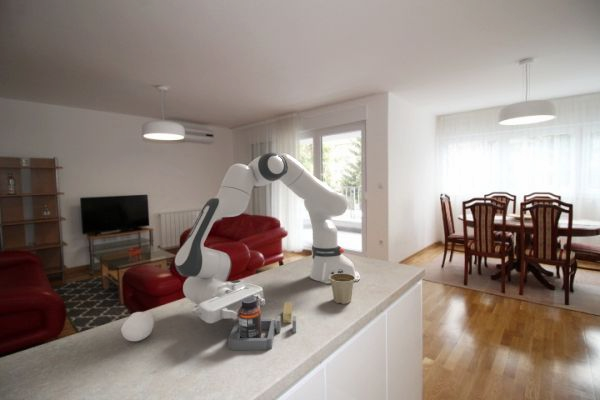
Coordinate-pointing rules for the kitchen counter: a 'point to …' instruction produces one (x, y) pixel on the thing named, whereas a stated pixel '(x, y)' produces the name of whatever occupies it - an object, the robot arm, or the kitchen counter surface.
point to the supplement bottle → (250, 318)
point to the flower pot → (342, 287)
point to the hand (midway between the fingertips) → (251, 309)
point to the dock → (257, 343)
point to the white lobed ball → (138, 326)
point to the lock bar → (287, 312)
